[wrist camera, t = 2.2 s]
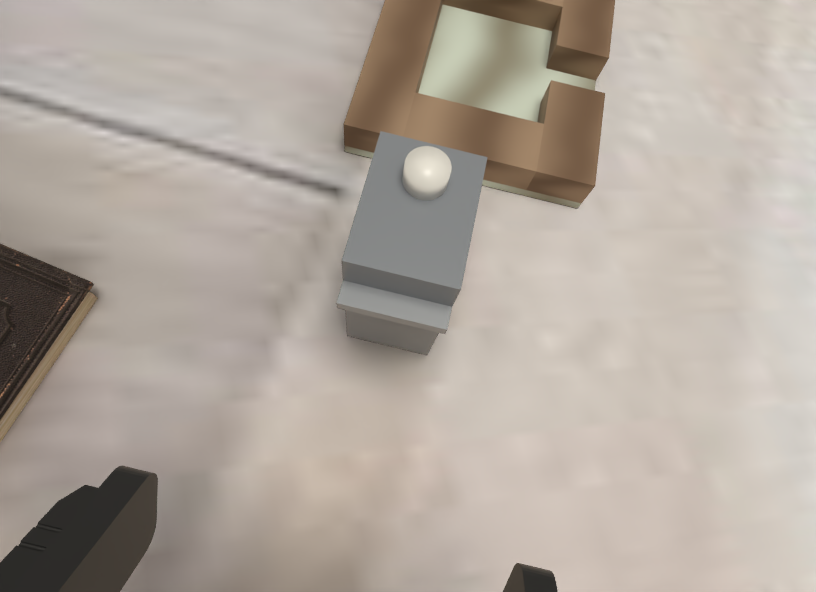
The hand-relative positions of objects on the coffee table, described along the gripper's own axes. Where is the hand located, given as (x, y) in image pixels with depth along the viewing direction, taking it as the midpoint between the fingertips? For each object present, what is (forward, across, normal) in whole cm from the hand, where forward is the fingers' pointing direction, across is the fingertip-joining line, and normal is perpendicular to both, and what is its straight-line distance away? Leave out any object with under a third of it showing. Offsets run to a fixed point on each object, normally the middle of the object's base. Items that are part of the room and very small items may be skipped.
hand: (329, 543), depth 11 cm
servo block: (+19, 0, +2) cm, 19 cm away
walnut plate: (+31, -2, -10) cm, 32 cm away
